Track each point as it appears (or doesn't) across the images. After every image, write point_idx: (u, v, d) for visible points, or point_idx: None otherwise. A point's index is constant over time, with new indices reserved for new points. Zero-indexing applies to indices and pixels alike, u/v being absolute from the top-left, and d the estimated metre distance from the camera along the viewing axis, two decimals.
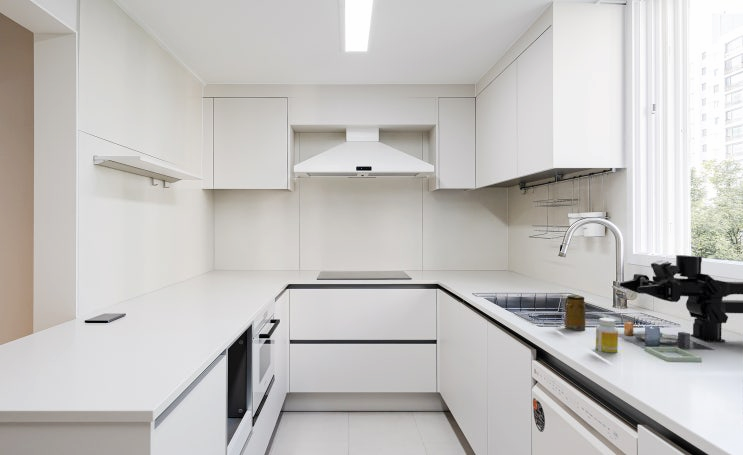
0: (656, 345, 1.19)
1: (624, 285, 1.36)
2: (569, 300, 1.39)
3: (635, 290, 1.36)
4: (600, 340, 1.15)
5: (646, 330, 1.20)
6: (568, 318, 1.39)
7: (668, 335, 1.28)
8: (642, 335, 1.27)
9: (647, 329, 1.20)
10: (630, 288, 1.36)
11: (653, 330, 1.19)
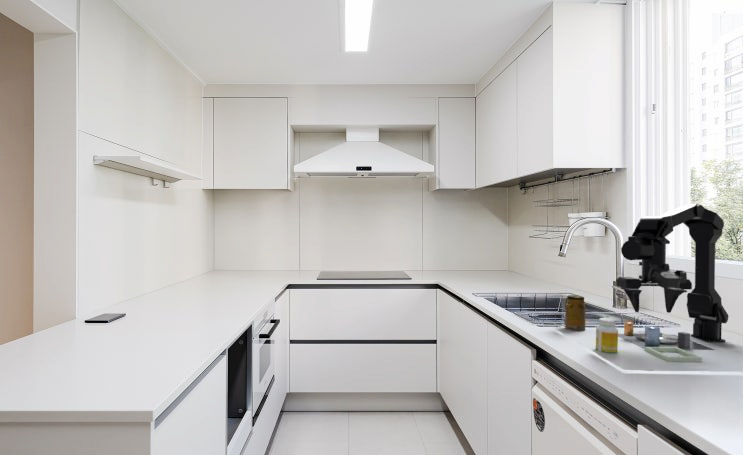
0: (656, 345, 1.19)
1: None
2: (569, 300, 1.39)
3: None
4: (600, 340, 1.15)
5: (646, 330, 1.20)
6: (568, 318, 1.39)
7: (668, 335, 1.28)
8: (642, 335, 1.27)
9: (647, 329, 1.20)
10: None
11: (653, 330, 1.19)
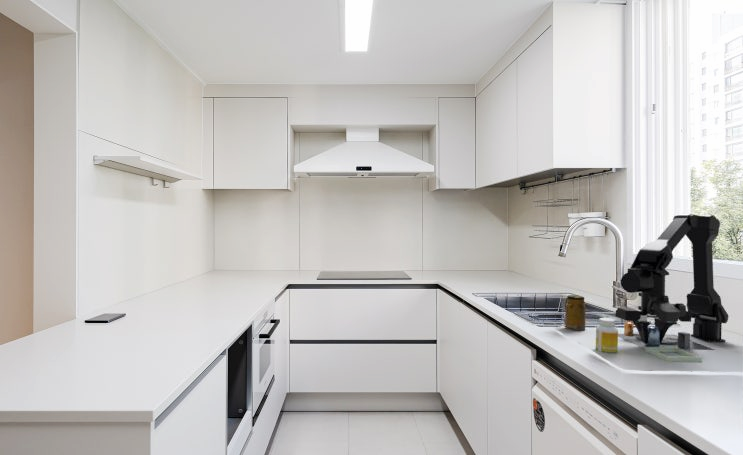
0: (656, 345, 1.19)
1: None
2: (569, 300, 1.39)
3: None
4: (600, 340, 1.15)
5: None
6: (568, 318, 1.39)
7: (668, 335, 1.28)
8: None
9: None
10: None
11: (653, 330, 1.19)
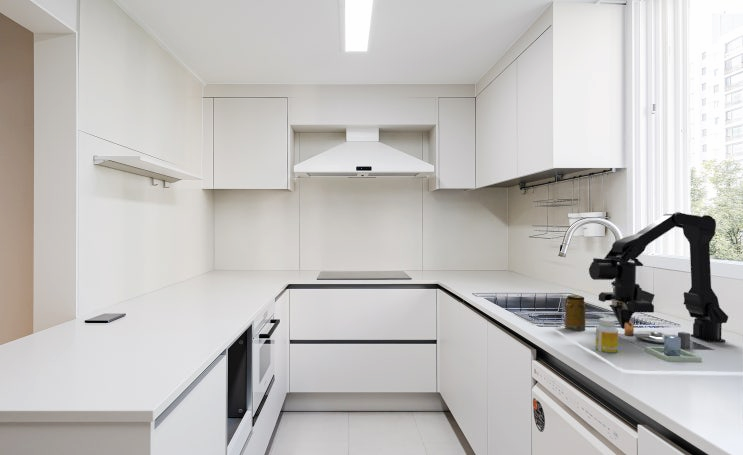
0: None
1: None
2: (569, 300, 1.39)
3: None
4: (600, 340, 1.15)
5: (671, 341, 1.10)
6: (568, 318, 1.39)
7: None
8: (642, 335, 1.27)
9: (673, 340, 1.10)
10: None
11: (679, 340, 1.10)
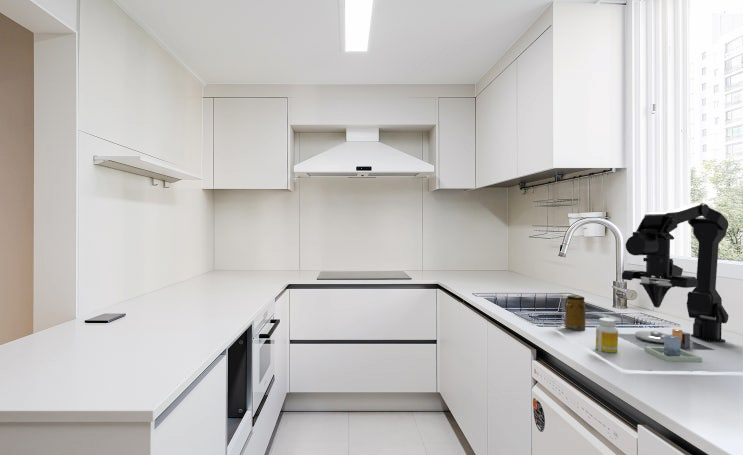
0: None
1: None
2: (569, 300, 1.39)
3: None
4: (600, 340, 1.15)
5: (671, 341, 1.10)
6: (568, 318, 1.39)
7: (644, 332, 1.32)
8: None
9: (672, 340, 1.10)
10: None
11: (679, 340, 1.10)
